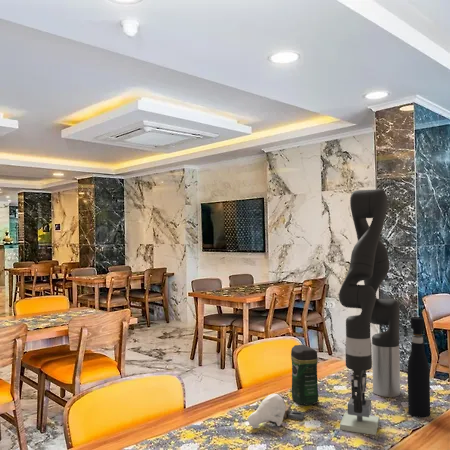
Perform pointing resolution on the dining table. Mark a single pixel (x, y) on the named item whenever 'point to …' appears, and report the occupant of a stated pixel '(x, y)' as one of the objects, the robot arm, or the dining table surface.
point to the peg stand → (359, 424)
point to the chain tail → (293, 414)
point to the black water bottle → (418, 373)
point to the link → (365, 408)
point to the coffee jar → (304, 375)
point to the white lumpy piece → (268, 411)
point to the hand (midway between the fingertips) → (359, 408)
